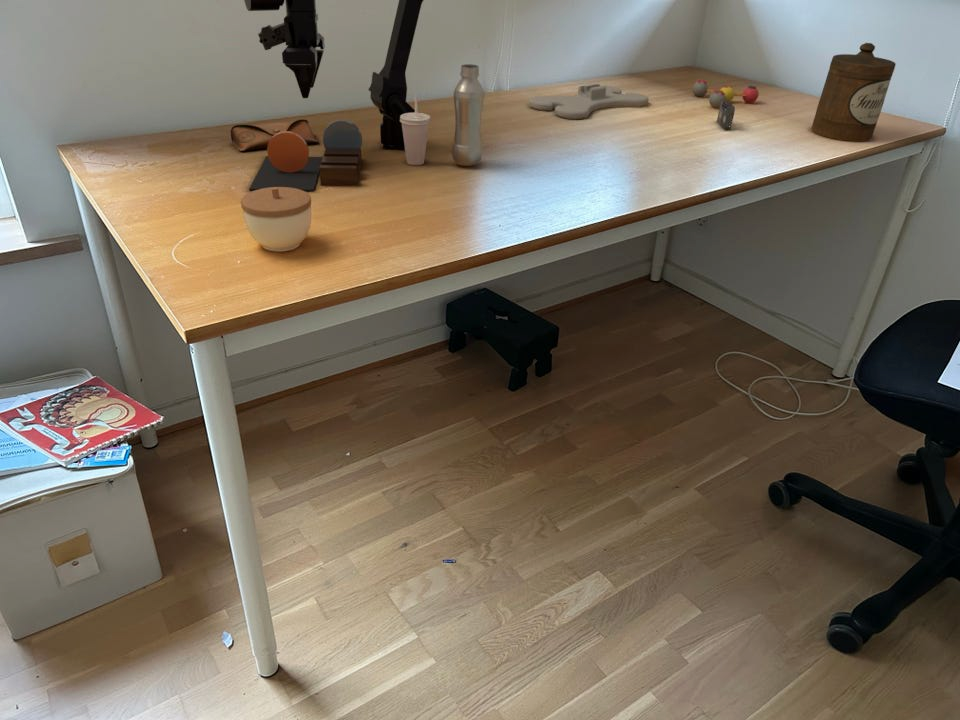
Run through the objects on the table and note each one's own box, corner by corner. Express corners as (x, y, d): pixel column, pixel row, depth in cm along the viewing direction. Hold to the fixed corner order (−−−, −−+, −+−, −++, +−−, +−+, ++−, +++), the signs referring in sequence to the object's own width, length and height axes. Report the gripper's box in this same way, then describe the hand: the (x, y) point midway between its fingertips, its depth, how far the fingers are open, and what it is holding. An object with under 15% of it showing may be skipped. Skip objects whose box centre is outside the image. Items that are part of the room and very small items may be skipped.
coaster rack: (328, 159, 156) (327, 143, 154) (361, 160, 157) (360, 143, 155) (320, 185, 143) (319, 167, 141) (357, 185, 143) (356, 168, 142)
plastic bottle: (486, 162, 159) (490, 64, 148) (475, 171, 154) (479, 71, 143) (458, 158, 161) (460, 61, 150) (447, 167, 155) (448, 67, 144)
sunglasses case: (240, 150, 157) (233, 119, 156) (235, 159, 163) (228, 129, 162) (321, 141, 165) (314, 112, 164) (313, 150, 171) (307, 121, 170)
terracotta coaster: (269, 169, 147) (267, 129, 143) (309, 172, 148) (308, 132, 144) (268, 171, 146) (266, 130, 142) (308, 174, 147) (308, 134, 143)
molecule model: (689, 94, 222) (692, 78, 219) (743, 95, 224) (746, 79, 221) (711, 109, 207) (714, 92, 204) (769, 110, 209) (773, 93, 206)
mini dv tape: (730, 130, 189) (735, 106, 186) (724, 130, 189) (729, 106, 186) (722, 122, 196) (727, 98, 193) (716, 121, 196) (721, 98, 193)
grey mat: (323, 158, 156) (323, 156, 156) (313, 191, 140) (313, 189, 140) (266, 157, 155) (266, 156, 155) (249, 190, 139) (248, 188, 138)
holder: (654, 104, 209) (657, 86, 206) (571, 121, 190) (574, 101, 187) (604, 90, 221) (606, 73, 218) (521, 105, 202) (523, 86, 199)
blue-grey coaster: (324, 157, 154) (321, 118, 150) (363, 158, 155) (361, 119, 150) (324, 159, 153) (321, 120, 149) (362, 160, 154) (361, 121, 149)
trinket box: (233, 250, 116) (224, 193, 111) (272, 226, 125) (265, 172, 120) (291, 263, 113) (284, 205, 108) (327, 237, 122) (323, 183, 117)
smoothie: (407, 168, 153) (406, 99, 146) (395, 159, 158) (394, 92, 150) (435, 165, 156) (435, 97, 148) (423, 156, 161) (423, 90, 153)
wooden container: (855, 145, 182) (885, 50, 170) (800, 131, 191) (825, 40, 180) (881, 135, 191) (912, 45, 179) (827, 122, 200) (853, 35, 188)
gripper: (266, 1, 150) (275, 81, 158) (250, 15, 134) (260, 103, 143) (322, 3, 151) (327, 82, 159) (311, 17, 135) (318, 104, 144)
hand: (308, 92), depth 151 cm, fingers open, 9 cm apart
